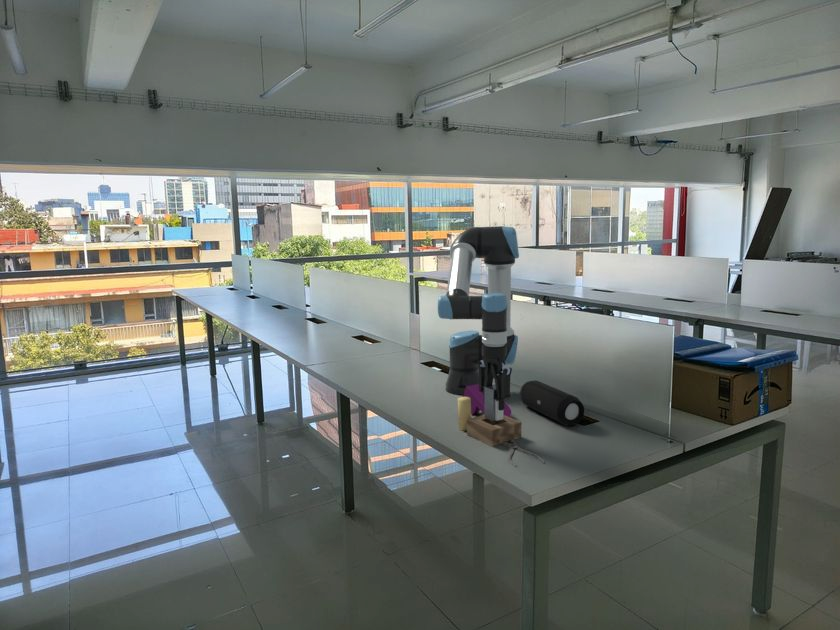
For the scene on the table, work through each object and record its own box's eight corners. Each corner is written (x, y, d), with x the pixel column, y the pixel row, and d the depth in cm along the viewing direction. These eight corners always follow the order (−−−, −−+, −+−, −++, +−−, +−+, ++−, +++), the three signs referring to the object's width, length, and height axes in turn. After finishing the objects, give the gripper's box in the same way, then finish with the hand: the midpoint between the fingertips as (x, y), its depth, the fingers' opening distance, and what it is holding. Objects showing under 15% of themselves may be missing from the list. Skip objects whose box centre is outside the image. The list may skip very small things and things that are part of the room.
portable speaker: (517, 407, 206) (518, 380, 204) (540, 403, 210) (541, 377, 208) (561, 430, 183) (562, 400, 181) (586, 425, 187) (587, 395, 185)
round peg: (465, 424, 188) (464, 395, 186) (474, 427, 185) (473, 398, 183) (456, 428, 185) (454, 399, 184) (465, 431, 182) (464, 402, 180)
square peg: (494, 415, 180) (494, 384, 179) (503, 418, 177) (503, 387, 175) (484, 417, 178) (484, 386, 176) (493, 421, 174) (493, 390, 173)
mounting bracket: (509, 434, 196) (481, 400, 208) (516, 415, 192) (487, 382, 204) (487, 439, 191) (460, 404, 204) (494, 421, 187) (466, 386, 199)
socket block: (495, 426, 186) (495, 411, 186) (521, 437, 177) (521, 422, 176) (466, 434, 180) (466, 419, 179) (492, 446, 170) (492, 430, 169)
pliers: (518, 467, 154) (482, 442, 172) (518, 470, 154) (482, 444, 172) (548, 461, 158) (509, 437, 176) (548, 464, 158) (509, 439, 176)
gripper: (466, 341, 178) (467, 412, 182) (504, 350, 164) (503, 427, 168) (485, 338, 183) (485, 407, 186) (523, 347, 168) (522, 422, 172)
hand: (493, 417), depth 177 cm, fingers closed on square peg, 4 cm apart
